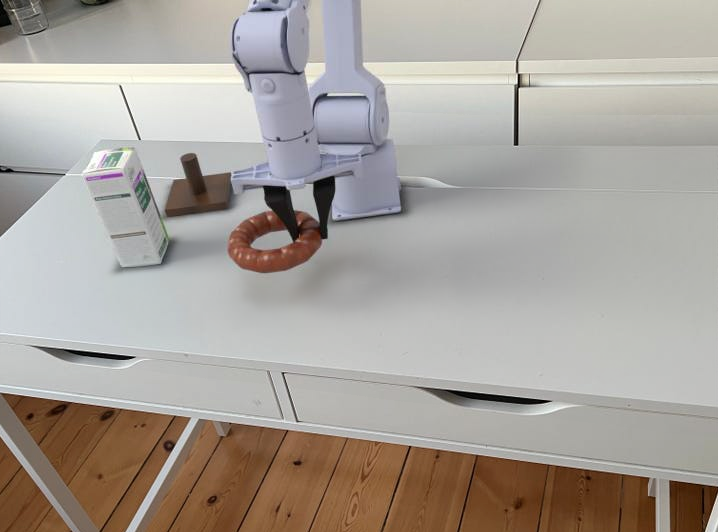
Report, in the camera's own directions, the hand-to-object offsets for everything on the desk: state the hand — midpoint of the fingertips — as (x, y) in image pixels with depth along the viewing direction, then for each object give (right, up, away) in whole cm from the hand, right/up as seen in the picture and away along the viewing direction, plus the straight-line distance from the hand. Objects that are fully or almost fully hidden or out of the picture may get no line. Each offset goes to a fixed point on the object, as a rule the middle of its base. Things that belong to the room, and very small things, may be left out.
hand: (310, 236), depth 91 cm
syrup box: (-24, 0, +15) cm, 28 cm away
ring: (-4, 0, 0) cm, 4 cm away
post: (-18, +10, +25) cm, 32 cm away
